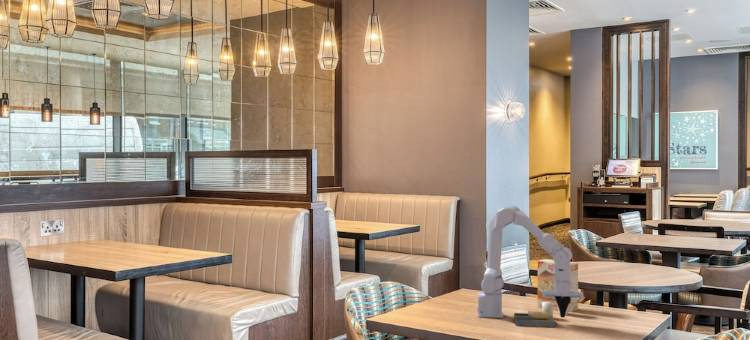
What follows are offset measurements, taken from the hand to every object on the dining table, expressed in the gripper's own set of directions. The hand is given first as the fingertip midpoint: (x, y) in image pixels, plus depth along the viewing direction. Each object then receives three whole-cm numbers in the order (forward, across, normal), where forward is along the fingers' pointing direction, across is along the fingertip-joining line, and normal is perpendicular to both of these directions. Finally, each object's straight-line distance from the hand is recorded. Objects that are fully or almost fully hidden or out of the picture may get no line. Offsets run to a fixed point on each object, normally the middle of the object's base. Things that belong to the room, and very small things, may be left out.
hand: (562, 316), depth 243 cm
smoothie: (+3, +2, +17) cm, 17 cm away
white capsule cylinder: (+3, -4, +9) cm, 10 cm away
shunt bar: (+1, -8, 0) cm, 9 cm away
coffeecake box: (+3, +2, +27) cm, 27 cm away
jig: (+3, -10, 0) cm, 11 cm away
